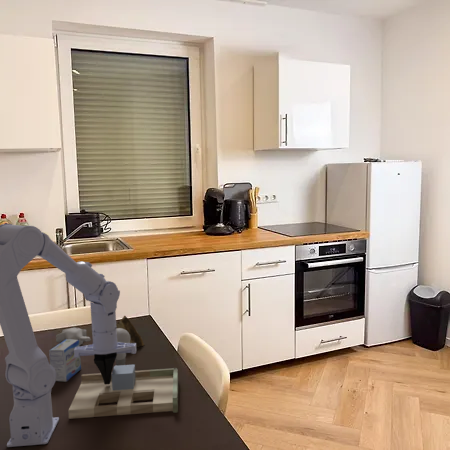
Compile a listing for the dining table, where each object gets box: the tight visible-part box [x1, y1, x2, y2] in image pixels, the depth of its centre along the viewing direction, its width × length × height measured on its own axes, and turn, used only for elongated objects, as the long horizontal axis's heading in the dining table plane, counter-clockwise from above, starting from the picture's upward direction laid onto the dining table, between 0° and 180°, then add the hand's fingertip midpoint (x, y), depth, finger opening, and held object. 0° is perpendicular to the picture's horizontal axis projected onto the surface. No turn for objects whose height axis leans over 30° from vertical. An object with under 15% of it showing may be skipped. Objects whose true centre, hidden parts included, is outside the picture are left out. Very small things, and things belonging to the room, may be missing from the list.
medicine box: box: [48, 339, 82, 383], centre depth 123 cm, size 8×4×9 cm, turn 168°
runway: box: [68, 367, 179, 420], centre depth 109 cm, size 16×24×4 cm, turn 95°
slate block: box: [112, 364, 136, 390], centre depth 113 cm, size 5×5×4 cm
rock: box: [116, 315, 145, 348], centre depth 146 cm, size 11×9×10 cm
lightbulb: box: [115, 328, 130, 366], centre depth 127 cm, size 6×6×11 cm
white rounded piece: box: [55, 327, 92, 346], centre depth 146 cm, size 10×5×15 cm
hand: (107, 382), depth 112 cm, fingers closed
